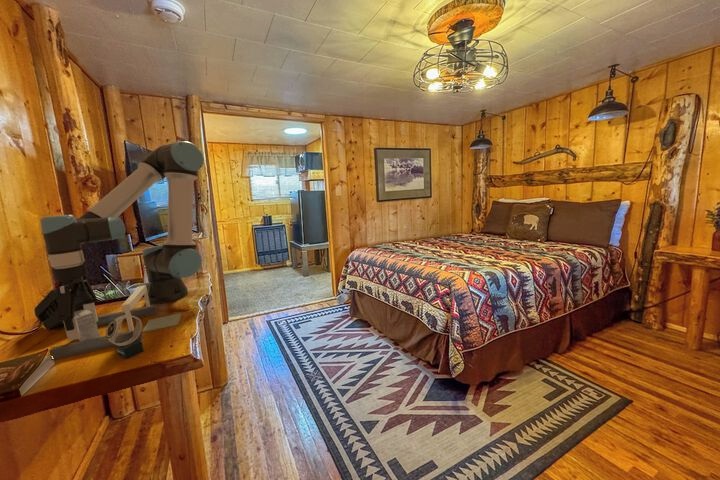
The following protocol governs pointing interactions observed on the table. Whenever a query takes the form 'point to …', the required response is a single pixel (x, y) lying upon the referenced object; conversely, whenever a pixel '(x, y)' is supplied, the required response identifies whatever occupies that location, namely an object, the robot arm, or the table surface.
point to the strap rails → (103, 341)
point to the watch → (127, 346)
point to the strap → (133, 300)
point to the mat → (162, 322)
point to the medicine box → (86, 324)
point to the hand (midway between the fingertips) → (84, 330)
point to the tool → (52, 310)
